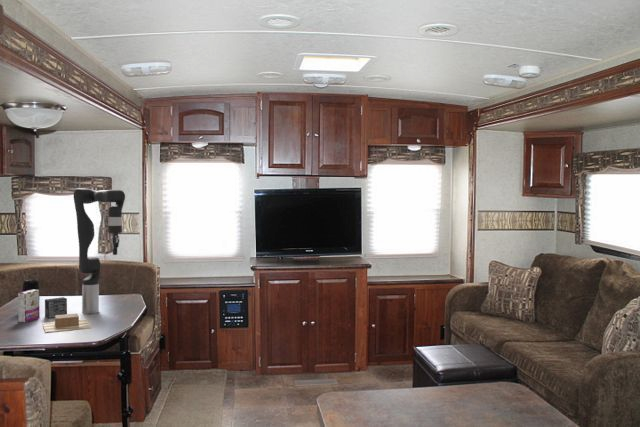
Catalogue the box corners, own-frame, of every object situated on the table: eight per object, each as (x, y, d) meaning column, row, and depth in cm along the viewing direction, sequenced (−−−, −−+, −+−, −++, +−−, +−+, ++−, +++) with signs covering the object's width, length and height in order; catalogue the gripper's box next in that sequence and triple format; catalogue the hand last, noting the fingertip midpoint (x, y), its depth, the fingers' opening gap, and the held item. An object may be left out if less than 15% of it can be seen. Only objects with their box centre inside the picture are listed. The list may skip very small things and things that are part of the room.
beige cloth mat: (42, 324, 292) (42, 323, 292) (86, 320, 303) (86, 319, 303) (45, 332, 274) (45, 331, 274) (91, 328, 286) (91, 327, 286)
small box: (63, 314, 316) (63, 296, 316) (67, 316, 312) (67, 298, 311) (44, 316, 309) (44, 298, 309) (48, 318, 304) (48, 300, 304)
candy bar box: (32, 317, 307) (32, 289, 306) (39, 318, 306) (39, 289, 305) (17, 322, 296) (17, 292, 295) (25, 322, 295) (25, 293, 294)
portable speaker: (35, 313, 317) (35, 280, 317) (19, 313, 317) (19, 280, 316) (42, 309, 326) (42, 278, 325) (26, 309, 325) (26, 278, 324)
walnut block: (76, 322, 295) (54, 324, 289) (77, 313, 295) (54, 315, 289) (78, 325, 288) (56, 327, 283) (78, 316, 288) (56, 318, 282)
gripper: (124, 225, 303) (124, 255, 304) (119, 223, 314) (119, 253, 315) (110, 225, 299) (110, 256, 300) (106, 224, 311) (106, 253, 311)
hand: (114, 254), depth 308 cm, fingers closed
